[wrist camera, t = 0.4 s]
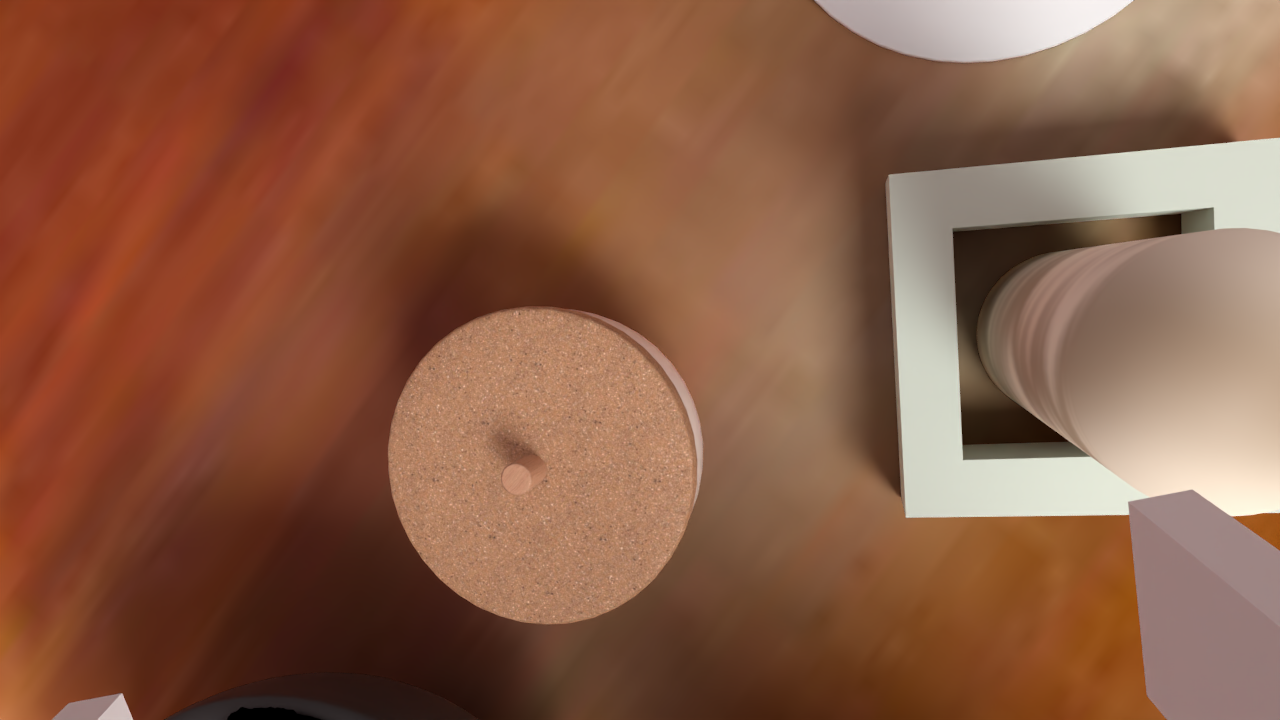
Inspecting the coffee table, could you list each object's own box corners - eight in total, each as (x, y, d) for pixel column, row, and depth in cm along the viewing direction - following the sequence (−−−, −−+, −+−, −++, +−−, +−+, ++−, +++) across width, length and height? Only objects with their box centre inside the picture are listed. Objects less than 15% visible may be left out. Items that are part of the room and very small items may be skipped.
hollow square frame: (885, 183, 35) (888, 174, 32) (1243, 150, 32) (1282, 137, 29) (900, 497, 35) (905, 517, 32) (1250, 491, 33) (1290, 512, 30)
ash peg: (972, 257, 34) (1066, 240, 20) (1150, 244, 33) (1393, 215, 18) (979, 417, 35) (1076, 518, 20) (1155, 411, 33) (1397, 514, 19)
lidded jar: (426, 437, 40) (300, 483, 30) (582, 246, 37) (497, 235, 28) (608, 610, 38) (534, 713, 29) (780, 425, 36) (758, 474, 27)
